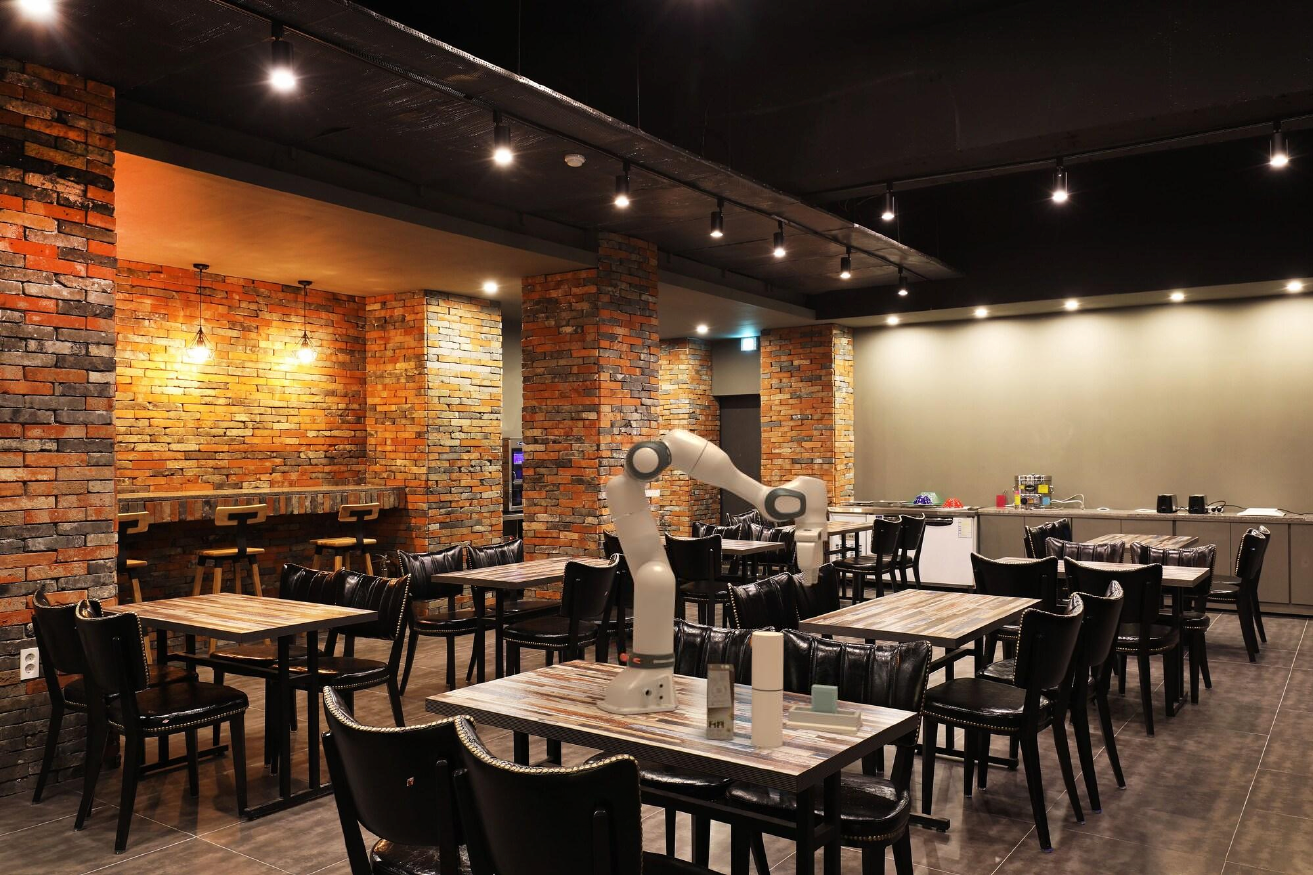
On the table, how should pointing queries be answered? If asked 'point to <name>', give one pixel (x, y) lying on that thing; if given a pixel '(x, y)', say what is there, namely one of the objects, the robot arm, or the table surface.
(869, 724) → the table surface
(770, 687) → the cylindrical container
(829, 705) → the door
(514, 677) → the table surface
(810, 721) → the track
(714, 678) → the coffee box
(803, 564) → the robot arm
